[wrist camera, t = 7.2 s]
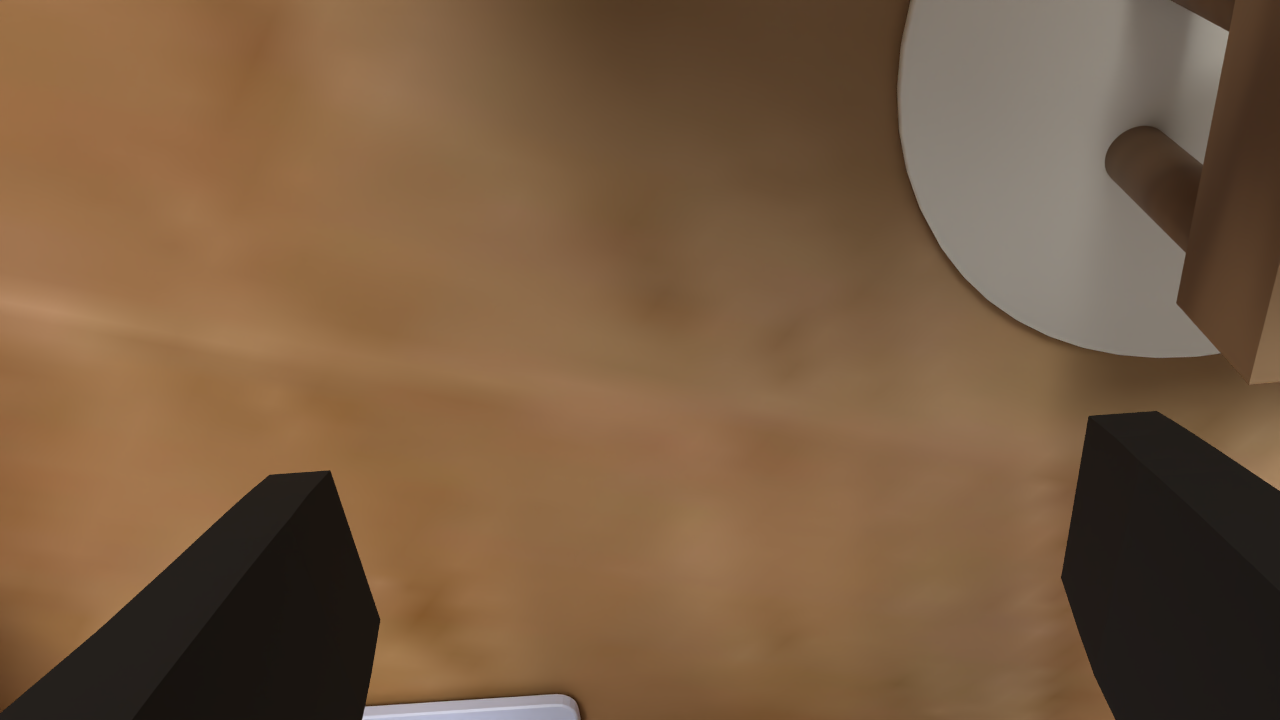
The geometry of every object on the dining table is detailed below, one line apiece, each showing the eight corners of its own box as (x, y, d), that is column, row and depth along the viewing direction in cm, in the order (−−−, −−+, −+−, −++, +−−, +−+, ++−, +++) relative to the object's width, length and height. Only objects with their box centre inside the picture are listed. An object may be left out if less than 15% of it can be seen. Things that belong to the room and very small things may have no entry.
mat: (1499, 318, 20) (1514, 329, 20) (890, 372, 21) (894, 382, 20) (1803, -445, 14) (1831, -448, 13) (905, -321, 14) (911, -321, 14)
